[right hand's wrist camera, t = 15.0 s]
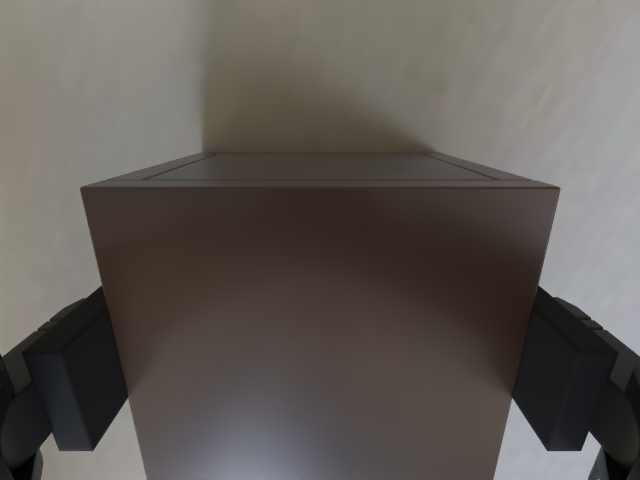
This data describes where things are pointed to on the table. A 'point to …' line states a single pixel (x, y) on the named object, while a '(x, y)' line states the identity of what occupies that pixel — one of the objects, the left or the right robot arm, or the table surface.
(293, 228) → the cabinet
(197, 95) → the table surface
